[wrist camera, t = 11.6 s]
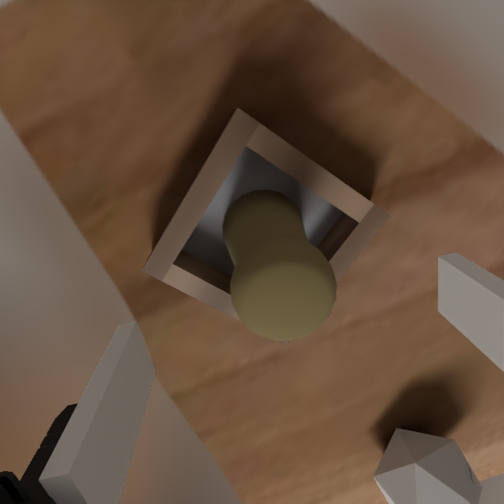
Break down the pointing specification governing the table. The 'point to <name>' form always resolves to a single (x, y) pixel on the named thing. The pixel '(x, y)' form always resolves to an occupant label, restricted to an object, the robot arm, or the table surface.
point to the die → (426, 471)
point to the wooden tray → (247, 180)
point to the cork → (276, 268)
